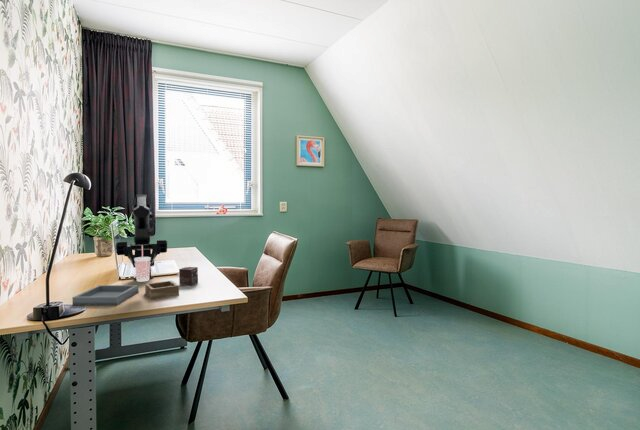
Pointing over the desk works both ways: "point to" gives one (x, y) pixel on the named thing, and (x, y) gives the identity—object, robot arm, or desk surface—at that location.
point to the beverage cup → (142, 268)
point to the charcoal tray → (106, 295)
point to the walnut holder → (161, 289)
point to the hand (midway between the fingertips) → (142, 264)
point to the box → (188, 276)
